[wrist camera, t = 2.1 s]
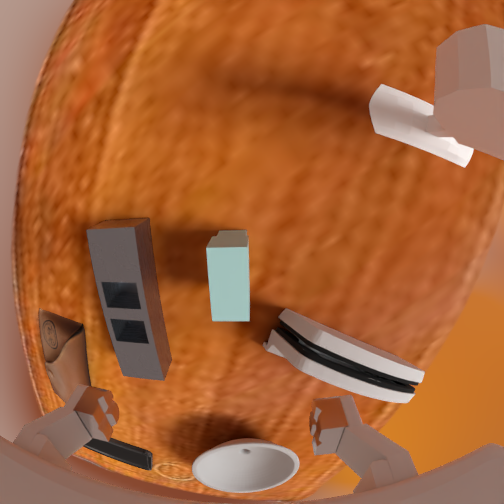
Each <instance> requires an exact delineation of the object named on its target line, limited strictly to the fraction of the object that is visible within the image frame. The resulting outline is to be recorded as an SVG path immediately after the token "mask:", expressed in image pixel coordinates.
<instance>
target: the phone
mask: <svg viewBox="0 0 504 504" xmlns="http://www.w3.org/2000/svg"><path fill="white" fill-rule="evenodd" d="M84 447H86V448H88V449H90V450H93V451H95V452H97V453H100V454H102V455H105V456H107V457H110V458H113V459H115V460H118V461H121V462H124V463H126V464H129V465H132V466H135V467H138V468H142V469H145V470H151V469H152V453H151V452H150V451H148V450H145V449H142V448H139V447H136V446H133V445H130V444H127V443H124V442H121V441H118V440H116V439H113V438H110V440H109V442H107V441H103V440H99V439H95V438H92V439H91V440H90V441H89V442H88V443H86V444H85V445H84Z"/></svg>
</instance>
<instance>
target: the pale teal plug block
mask: <svg viewBox="0 0 504 504" xmlns="http://www.w3.org/2000/svg"><path fill="white" fill-rule="evenodd" d="M206 252H207V265H208V278H209V290H210V301H211V312H212V321H249V319H250V287H249V245H248V236H247V230H220V231H219V232H218V234H217V236H212V238H211V240H210V241H209V243H208V245H207V247H206Z"/></svg>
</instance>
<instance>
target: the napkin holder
mask: <svg viewBox="0 0 504 504" xmlns="http://www.w3.org/2000/svg"><path fill="white" fill-rule="evenodd" d="M278 318H280V319H281V321H280V324H281V325H283V326H284V327H285V328H286V329H288V330H289V331H290V332H291V333H290V332H288V331H285V330H283V329H281V328H278V327H277V329H276V330H273V329H272V331H271V334H270V337H269V340H268V343H267V342H265V341H264V343H263V347H264V348H265V350H266V351H268V352H271V353H273V354H276V355H279V356H281V357H284V358H286V359H287V360H288V361H289V362H290V363H291V364H292V365H293V366H294V367H296V368H297V369H299V370H300V371H302V372H304V373H307V374H309V375H311V376H313V377H315V378H318V379H320V380H322V381H325V382H327V383H330V384H332V385H335V386H337V387H340V388H343V389H346V390H349V391H351V392H354V393H357V394H360V395H364V396H367V397H371V398H375V399H379V400H383V401H389V402H396V403H408V402H409V401H410V400H411V398H412V397H413V396H414V395H415V393H414V391H415V388H414V387H412V386H411V385H418V383H422V380H423V376H424V373H425V371H423V370H421V369H419V368H417V367H416V366H414V365H412V364H410V363H408V362H407V361H405V360H403V359H401V358H400V357H398V356H396V355H393V354H391V353H388V352H386V351H383V350H381V349H379V348H376V347H374V346H371V345H369V344H367V343H364V342H362V341H360V340H357V339H355V338H353V337H350V336H348V335H346V334H343V333H341V332H339V331H336V330H334V329H332V328H330V327H327V326H325V325H323V324H320V323H318V322H316V321H314V320H311V319H309V318H307V317H305V316H303V315H300V314H298V313H296V312H294V311H292V310H289V309H287V308H286V309H285V310H284V311H283V312H282V313H281V314H280V315H279V317H278ZM292 333H293V334H294V335H295V336H294V335H293V334H292ZM409 384H410V385H409Z"/></svg>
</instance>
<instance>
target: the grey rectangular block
mask: <svg viewBox="0 0 504 504" xmlns="http://www.w3.org/2000/svg"><path fill="white" fill-rule="evenodd" d="M86 231H87V238H88V244H89V250H90V255H91V261H92V266H93V271H94V275H95V280H96V284H97V289H98V293H99V297H100V301H101V305H102V309H103V313H104V317H105V320H106V324H107V327H108V331H109V334H110V337H111V341H112V344H113V347H114V350H115V353H116V356H117V359H118V362H119V365H120V368H121V370H122V373H123V376H128V377H136V378H144V379H153V380H163V381H164V380H165V377H166V375H167V372H168V369H169V366H170V364H171V361H172V358H171V353H170V348H169V344H168V339H167V334H166V329H165V324H164V318H163V313H162V307H161V302H160V296H159V289H158V283H157V276H156V269H155V262H154V255H153V247H152V238H151V229H150V219H149V218H136V219H120V220H105V221H103V222H101V223H99V224H97V225H95V226H93V227H91V228H89V229H87V230H86Z"/></svg>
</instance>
